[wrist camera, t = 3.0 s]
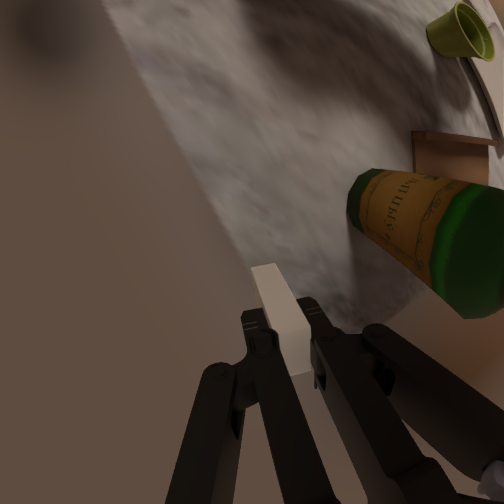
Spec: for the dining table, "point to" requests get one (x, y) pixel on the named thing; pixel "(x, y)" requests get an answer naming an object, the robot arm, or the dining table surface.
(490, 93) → the salad plate
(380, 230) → the bottle
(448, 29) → the plant pot
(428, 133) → the cradle
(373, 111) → the dining table surface
